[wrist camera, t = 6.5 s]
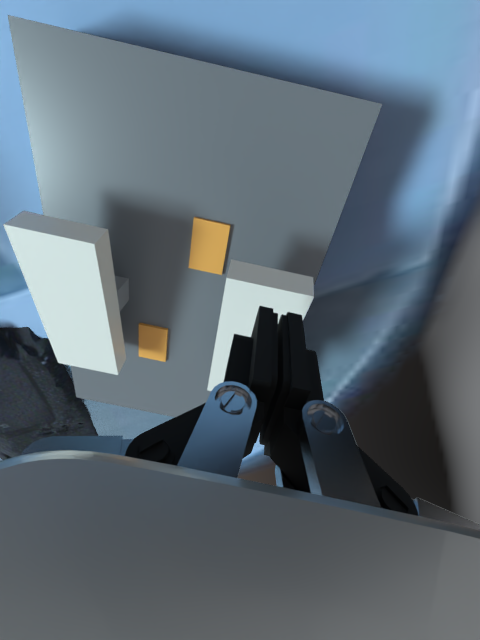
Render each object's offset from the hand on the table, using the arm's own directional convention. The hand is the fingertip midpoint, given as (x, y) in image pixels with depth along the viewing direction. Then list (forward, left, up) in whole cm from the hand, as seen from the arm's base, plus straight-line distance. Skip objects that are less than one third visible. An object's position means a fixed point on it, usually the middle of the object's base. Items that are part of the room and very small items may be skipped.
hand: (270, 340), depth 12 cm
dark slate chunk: (+24, -23, -12) cm, 35 cm away
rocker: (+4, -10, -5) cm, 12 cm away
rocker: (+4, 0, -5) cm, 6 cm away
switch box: (+4, -5, -11) cm, 13 cm away
